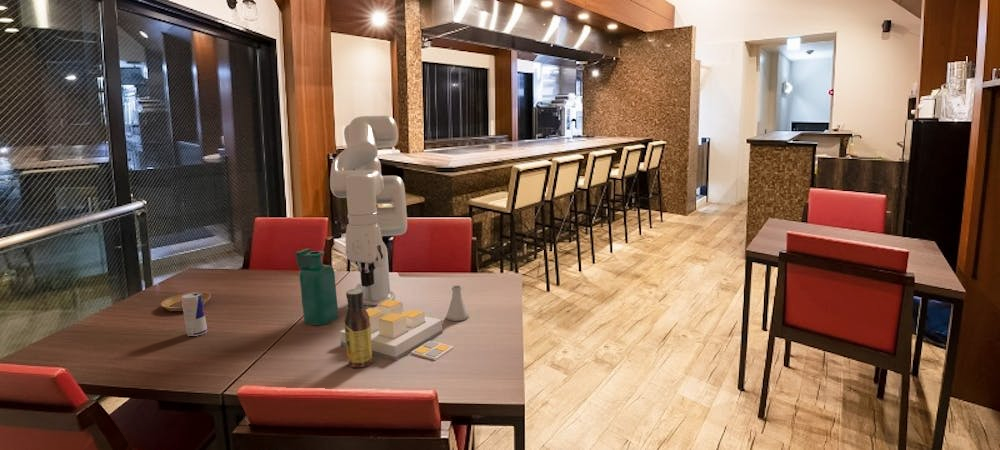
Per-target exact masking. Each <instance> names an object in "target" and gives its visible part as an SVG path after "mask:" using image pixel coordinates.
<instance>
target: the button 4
mask: <svg viewBox="0 0 1000 450" xmlns="http://www.w3.org/2000/svg"><path fill="white" fill-rule="evenodd" d="M400 315H403V316H405V317H406V327H407V328H411V329H414V328H416V327H418V326H420V325H422V324H423V323H425V316H426V315H425V312H423V311H421V310H416V309H412V308H410V309H408V310H406V311H404V313H402V314H400Z"/></svg>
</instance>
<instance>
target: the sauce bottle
mask: <svg viewBox="0 0 1000 450" xmlns="http://www.w3.org/2000/svg"><path fill="white" fill-rule="evenodd" d="M345 295H346V299H347V310H346V315H345V318H344V321H343V323H344V324H343V325H344V329H345V337H346V346H345V348H346V355H347V356H346V357H347V361H348V365H349V366H350V367H352V368H364V367H368V366H370V364H372V362H373V354H372V343H371V331H370V323H369V315H368V313H367V311H366V309H365V307H364V306H365V305H364V304H363V290H362V289H355V288H350V289H349V290H347V291H346V292H345Z"/></svg>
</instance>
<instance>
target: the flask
mask: <svg viewBox="0 0 1000 450" xmlns="http://www.w3.org/2000/svg"><path fill="white" fill-rule="evenodd" d="M462 288H463V287H462V285H459V284H457V285H451V290H452V295H451V300H450V304H449V307H448V310H447V313H446V320H447V321H453V322H459V321H460V322H461V321H465V320H467V319H468V318H470V315H469V311H468V310H467V309H468V308H467V307H466V305H465V302H464V299H463V297H462Z"/></svg>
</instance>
